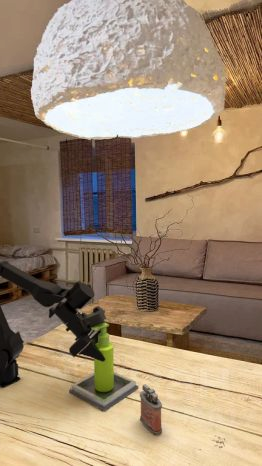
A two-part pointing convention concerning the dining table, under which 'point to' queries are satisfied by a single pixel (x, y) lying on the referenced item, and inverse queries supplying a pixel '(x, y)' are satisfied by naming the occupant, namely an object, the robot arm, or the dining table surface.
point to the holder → (103, 399)
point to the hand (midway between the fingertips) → (107, 355)
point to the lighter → (150, 410)
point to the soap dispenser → (106, 368)
